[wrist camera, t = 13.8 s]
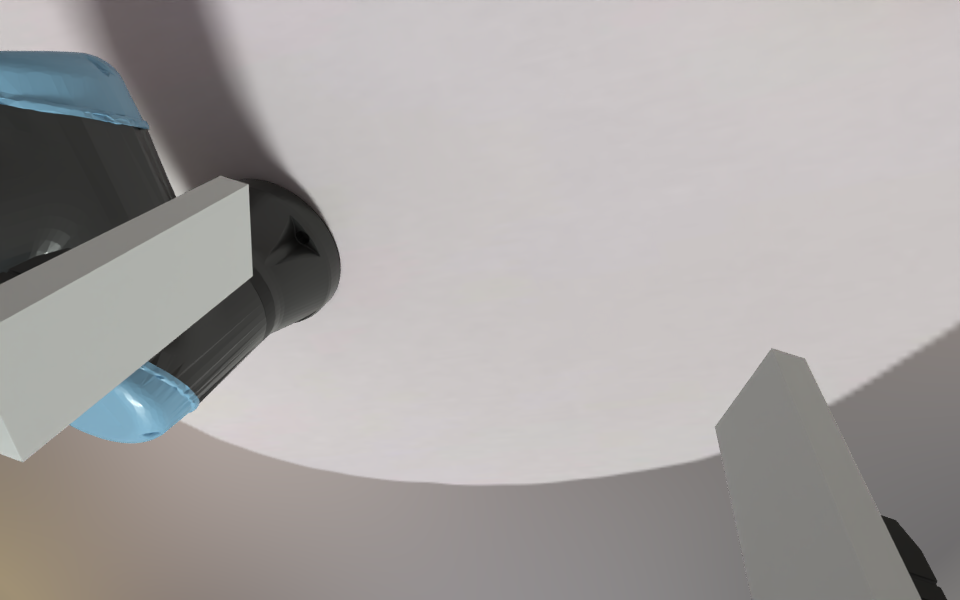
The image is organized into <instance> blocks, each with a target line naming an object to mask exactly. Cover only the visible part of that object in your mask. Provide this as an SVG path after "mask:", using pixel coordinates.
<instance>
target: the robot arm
mask: <svg viewBox="0 0 960 600" xmlns="http://www.w3.org/2000/svg"><path fill="white" fill-rule="evenodd" d="M148 130H149V125H148V123H147V122H146V121H144V120H143V119H142V117H141V115H140V113H139V111H138V109H137V107H136V105H135V103H134V101H133V99H132V97H131V96H130V94H129V92H128V89H127V87H126V85H125V83H124V81H123V79H122V77H121V76H120V74H119V73H118V72H117V71H116V70H115V69H114V68H113V67H112V66H111V65H110V64H109V63H107V62H106V61H104V60H102V59H100V58H98V57H96V56H93V55H90V54H86V53H79V52H58V51H0V454H2V455H5V456H8V457H10V458H13V459H16V460H18V461H21V462H24V461H25V460H26V459H28V458H29V457H30V456H31V455H33V454H34V453H35V452H36V451H37V450H39V449H40V448H41V447H42V446H43V445H45V444H46V443H47V442H48V441H50V440H51V439H52V438H54V437H55V436H56V435H57V434H58V433H59V432H61V431H62V430H63V429H65V428H66V427H67V426H68V425H71V426H72V427H74V428H76V429H78V430H81V431H83V432H85V433H88V434H90V435H94V436H96V437H99V438H102V439H106V440H110V441H115V442H121V443H140V442H146V441H150V440H153V439H155V438H157V437H159V436H161V435H162V434H164V433H165V432H166V431H167V430H169V429H170V428H171V427H172V426H173V425H174V424H176V423H177V422H178V421H179V420H181V419H182V418H183V417H184V416H185V415H187V414H188V413H190V412H192V411H194V410H195V409H196V408H197V407H198V405H199V403H200V402H201V401H202V400H203V399H204V398H205V397H206V396H207V395H208V394H209V393H210V392H211V391H212V390H213V389H214V388H215V387H216V386H217V385H218V384H219V383H220V382H221V381H223V380H224V379H225V378H226V377H227V376H228V375H229V374H230V373H231V372H232V371H233V370H234V369H235V368H236V367H237V366H238V365H239V364H240V363H241V362H242V361H243V360H244V359H245V358H246V357H247V356H248V355H249V354H250V353H251V352H252V351H253V350H254V349H255V348H256V347H257V346H258V345H259V344H260V343H261V342H262V341H263V340H264V339H265V338H266V337H267V336H268V335H269V334H271V333H273V332H275V331H278V330H280V329H282V328H284V327H286V326H289V325H291V324H293V323H296V322H300V321H302V320H305V319H307V318H309V317H311V316H313V315H314V314H316V313H317V312H318V311H319V310H320V309H321V308H322V307H323V306H324V305H325V304H326V303H327V302H328V301H329V300H330V299H331V298H332V296H333V295H334V293H335V291H336V289H337V287H338V284H339V279H340V260H339V255H338V251H337V248H336V245H335V243H334V240H333V238H332V236H331V234H330V232H329V231H328V229H327V227H326V226H325V224H324V223H323V221H322V220H321V219H320V218H319V216H318V215H317V214H316V213H315V212H314V211H313V210H312V209H311V208H310V207H309V206H308V205H307V204H306V203H305V202H304V201H303V200H301V199H300V198H299V197H297V196H296V195H294V194H293V193H291V192H290V191H288V190H286V189H284V188H282V187H280V186H278V185H275V184H273V183H270V182H266V181H261V180H254V179H246V180H239V181H236V180H233V179H229V178H226V177H223V176H219V177H217V178H215V179H213V180H211V181H209V182H206V183H204V184H202V185H200V186H198V187H196V188H194V189H192V190H190V191H188V192H186V193H184V194H182V195H180V196H178V197H176V196H175V193H174V191H173V189H172V187H171V184H170V182H169V180H168V177H167V175H166V173H165V171H164V168H163V166H162V163H161V161H160V158H159V156H158V154H157V151H156V149H155V146H154V144H153V142H152V139H151V137H150V134H149V132H148ZM715 429H716V434H717V438H718V443H719V448H720V453H721V457H722V462H723V467H724V472H725V476H726V481H727V486H728V491H729V495H730V500H731V505H732V510H733V514H734V519H735V524H736V528H737V533H738V538H739V543H740V547H741V552H742V557H743V562H744V566H745V571H746V576H747V581H748V585H749V590H750V595H751V600H947V599H946V597H945V595H944V593H943V591H942V589H941V588H940V587H937V585H936V583H937V580H936V578H935V576H934V574H933V572H932V570H931V568H930V566H929V564H928V563H927V561H926V559H925V557H924V555H923V553H922V551H921V550H920V548H919V547H918V546H917V545H916V544H915V542H914V541H913V540H912V539H911V538H910V537H909V535H908V534H907V533H906V532H905V531H904V529H903V528H902V527H901V526H900V525H899V523H898V522H897V521H896V520H894V519H891V518H888V517H885V516H882V515H880V513H879V511H878V509H877V507H876V505H875V502H874V500H873V498H872V496H871V494H870V492H869V490H868V488H867V486H866V484H865V482H864V480H863V478H862V476H861V474H860V472H859V469H858V467H857V465H856V463H855V461H854V459H853V457H852V455H851V453H850V451H849V449H848V447H847V445H846V443H845V441H844V438H843V436H842V434H841V432H840V430H839V428H838V426H837V424H836V422H835V420H834V418H833V416H832V414H831V412H830V410H829V407H828V405H827V403H826V401H825V399H824V397H823V395H822V393H821V391H820V389H819V387H818V385H817V383H816V381H815V379H814V376H813V374H812V372H811V370H810V368H809V366H808V364H807V362H806V360H805V359H804V358H801V357H798V356H795V355H792V354H788V353H785V352H782V351H779V350H776V349H771V350H770V351H769V353H768V354H767V356H766V357H765V358H764V360H763V361H762V363H761V364H760V365H759V367H758V368H757V370H756V371H755V372H754V374H753V375H752V376H751V378H750V379H749V381H748V382H747V383H746V385H745V386H744V388H743V389H742V390H741V392H740V393H739V395H738V396H737V397H736V399H735V400H734V401H733V403H732V404H731V406H730V407H729V408H728V410H727V411H726V413H725V414H724V415H723V417H722V418H721V419H720V421H719V422H718V424H717V425H716V426H715Z"/></svg>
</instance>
